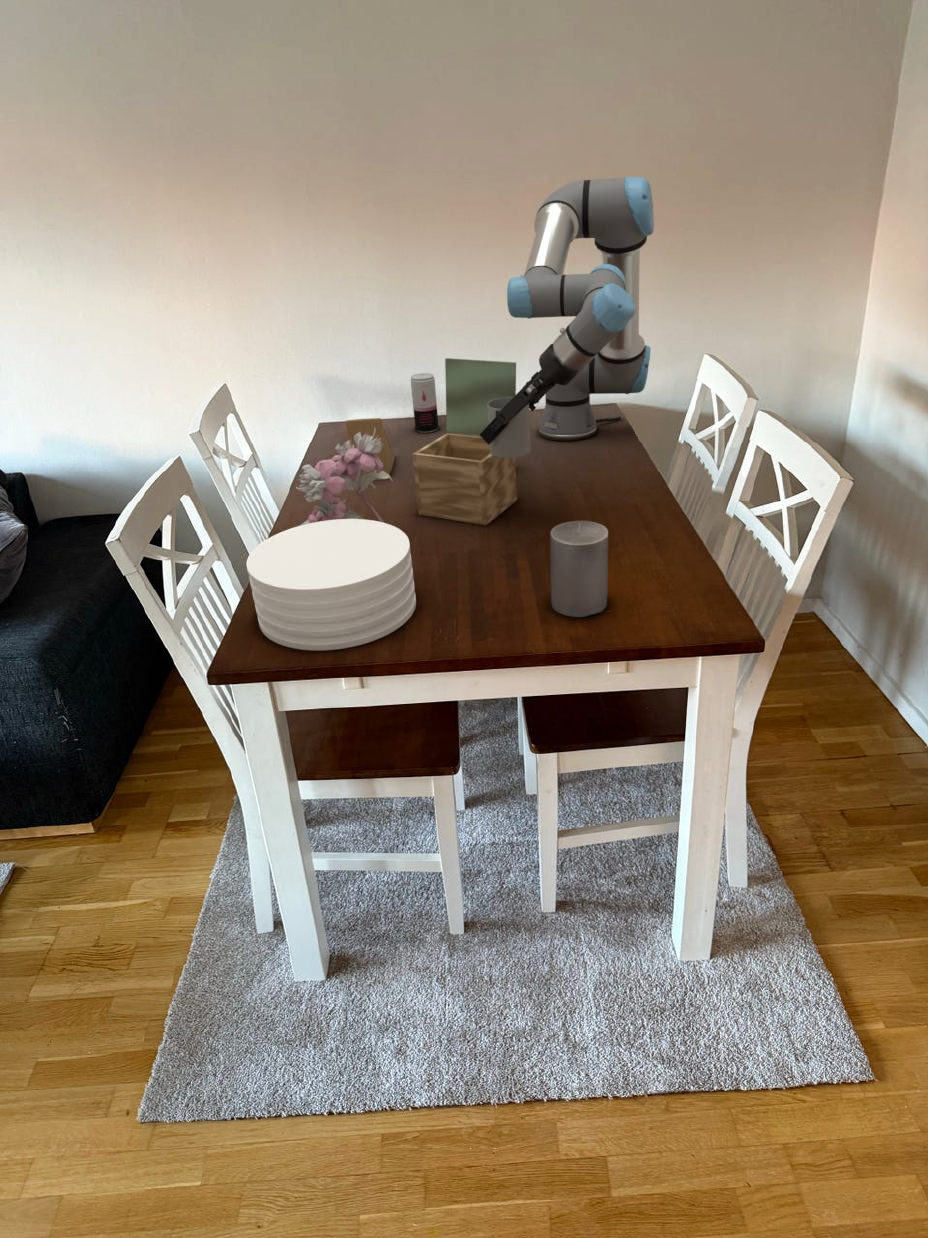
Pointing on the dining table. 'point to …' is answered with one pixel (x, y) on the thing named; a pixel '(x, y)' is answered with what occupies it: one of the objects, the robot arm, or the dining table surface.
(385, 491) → the dining table surface
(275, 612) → the plate stack
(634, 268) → the robot arm
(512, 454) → the cup
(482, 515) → the bin
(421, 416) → the beverage can
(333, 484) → the flower
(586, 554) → the pillar candle
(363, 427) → the sandwich container
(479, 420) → the lid
